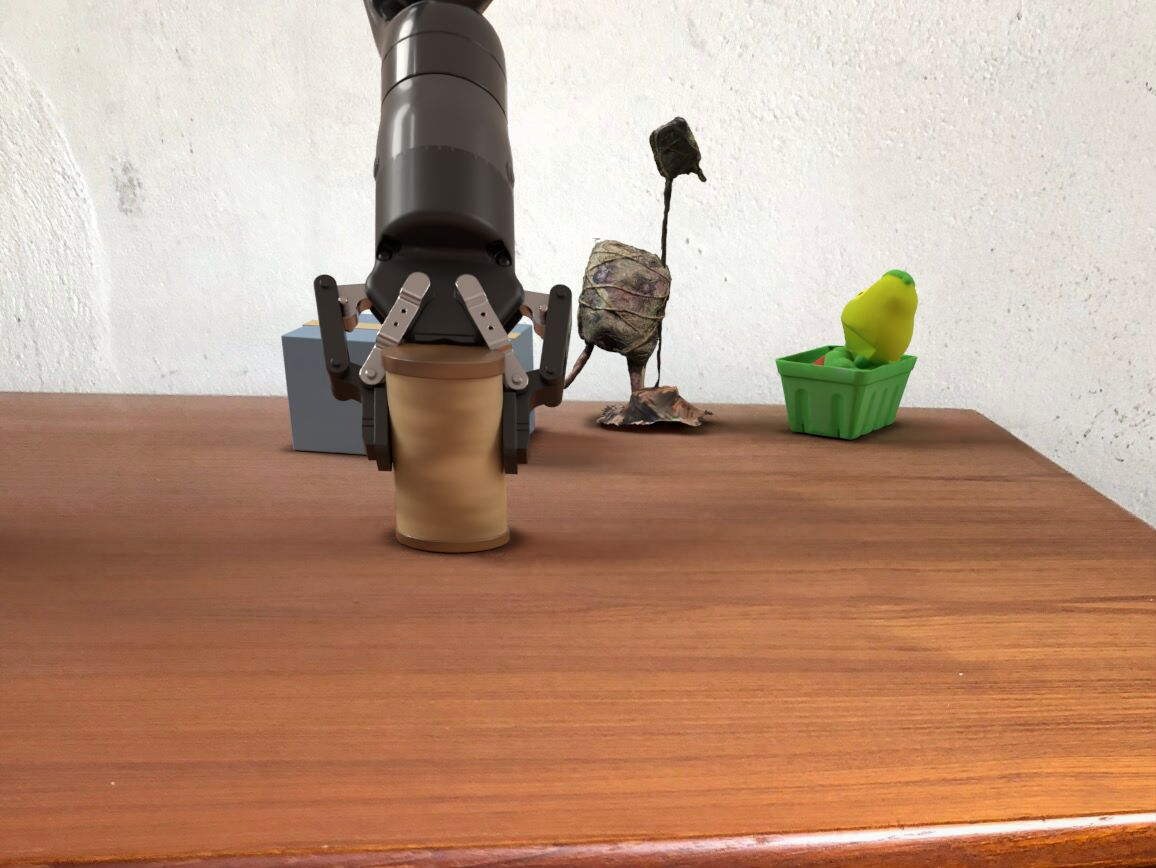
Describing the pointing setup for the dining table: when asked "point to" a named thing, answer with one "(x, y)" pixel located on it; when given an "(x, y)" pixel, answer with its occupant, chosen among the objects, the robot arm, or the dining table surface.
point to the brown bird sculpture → (638, 298)
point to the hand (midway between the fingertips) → (446, 463)
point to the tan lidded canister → (447, 446)
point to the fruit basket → (856, 365)
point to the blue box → (339, 422)
